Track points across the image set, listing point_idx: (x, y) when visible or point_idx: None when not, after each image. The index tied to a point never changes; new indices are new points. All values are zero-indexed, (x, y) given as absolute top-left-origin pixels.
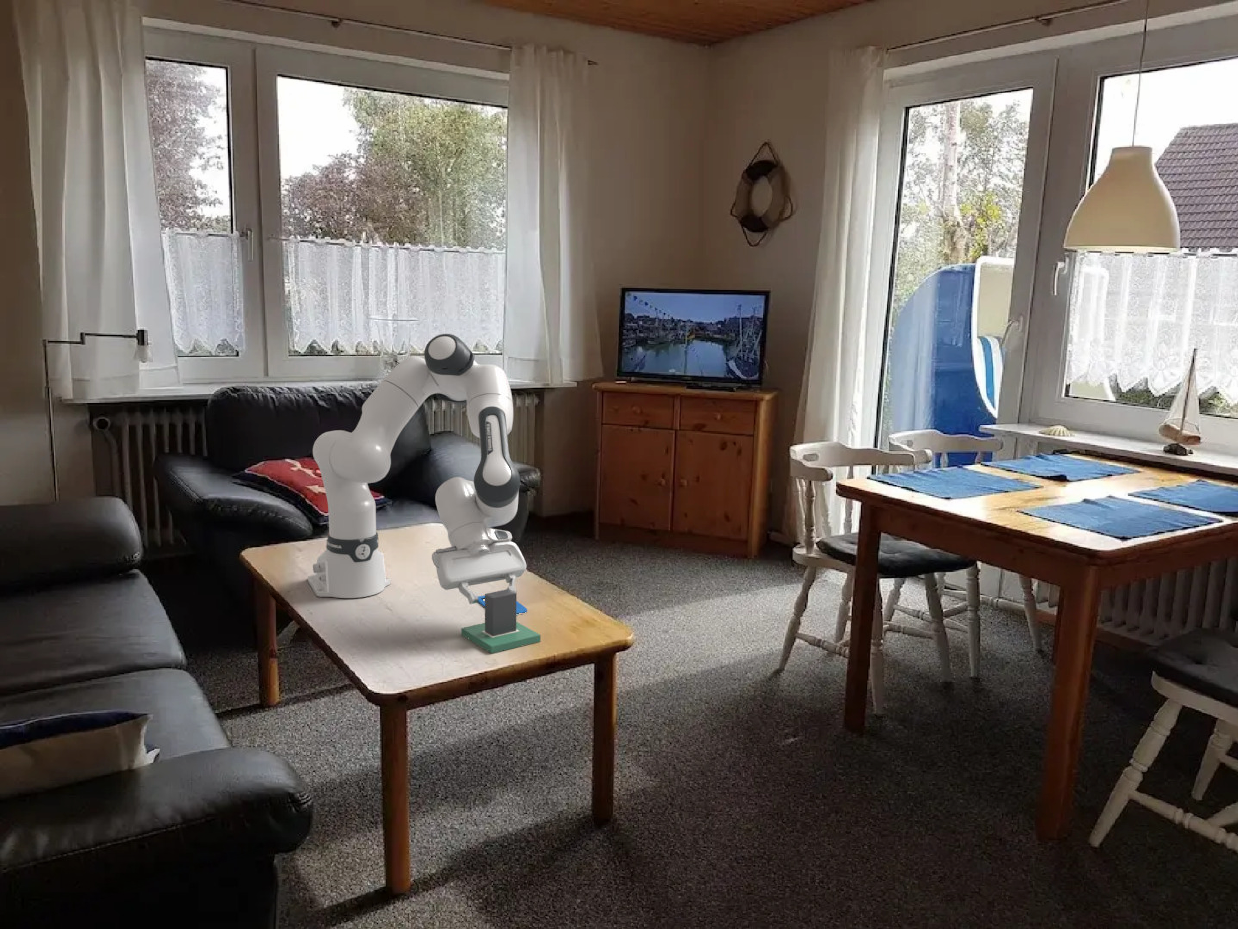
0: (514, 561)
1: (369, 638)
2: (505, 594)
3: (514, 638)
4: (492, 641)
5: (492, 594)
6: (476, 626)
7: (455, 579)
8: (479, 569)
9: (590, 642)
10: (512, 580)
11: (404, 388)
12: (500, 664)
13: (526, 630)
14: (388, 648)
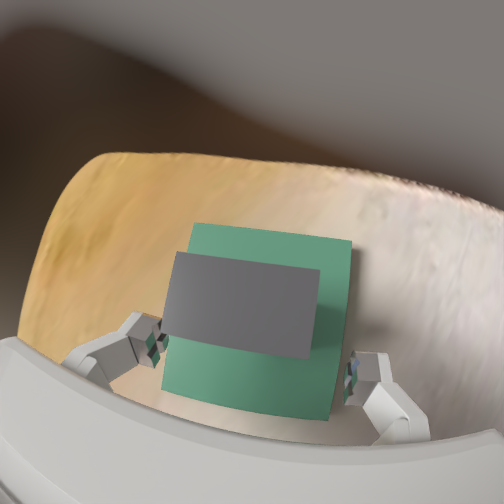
0: (3, 387)
1: None
2: (228, 274)
3: (264, 247)
4: (328, 271)
5: (282, 323)
6: (284, 404)
7: (478, 441)
8: (274, 499)
9: (137, 166)
10: (100, 348)
11: None
12: (364, 187)
13: None
14: (481, 420)
